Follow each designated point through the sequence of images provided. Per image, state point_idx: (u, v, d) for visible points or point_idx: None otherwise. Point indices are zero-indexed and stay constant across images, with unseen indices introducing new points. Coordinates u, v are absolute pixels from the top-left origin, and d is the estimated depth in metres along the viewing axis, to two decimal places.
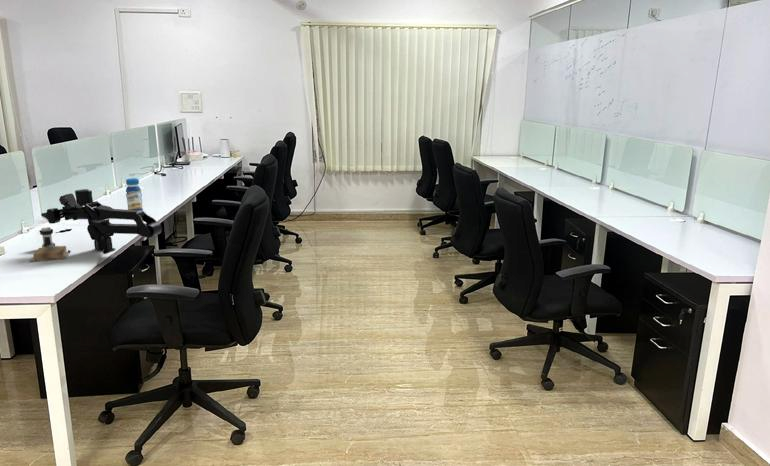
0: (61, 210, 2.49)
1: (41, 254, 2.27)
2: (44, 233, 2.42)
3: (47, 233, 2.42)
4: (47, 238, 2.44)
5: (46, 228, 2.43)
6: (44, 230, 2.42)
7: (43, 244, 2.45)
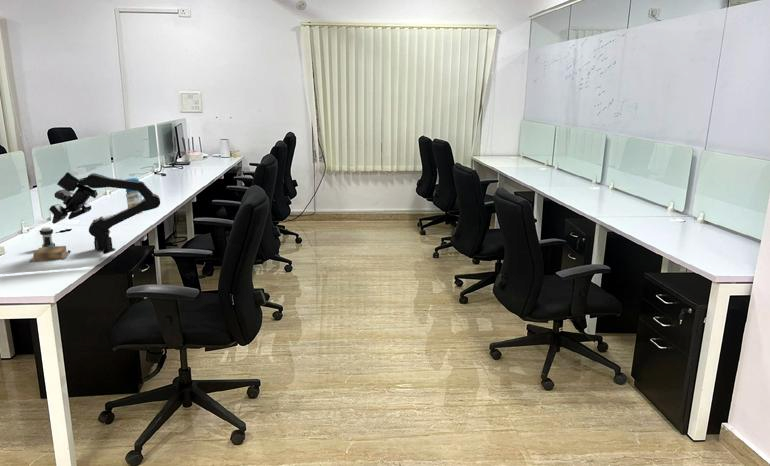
0: (71, 215, 2.45)
1: (41, 254, 2.27)
2: (44, 233, 2.42)
3: (47, 233, 2.42)
4: (47, 238, 2.44)
5: (46, 228, 2.43)
6: (44, 230, 2.42)
7: (43, 244, 2.45)
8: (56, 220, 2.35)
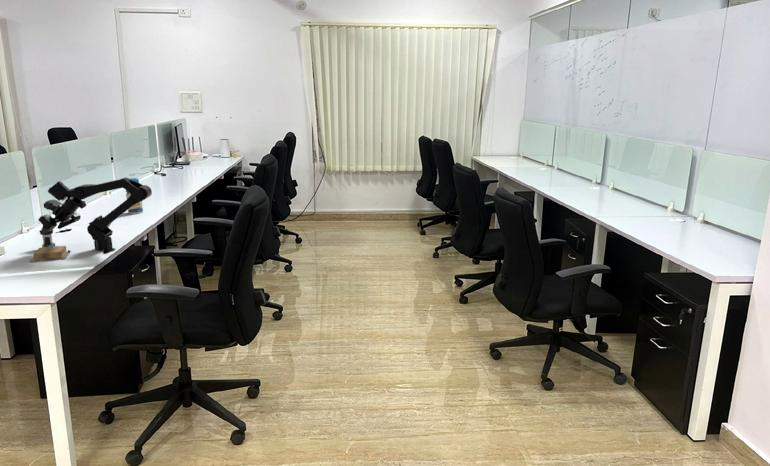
0: (60, 224, 2.47)
1: (41, 254, 2.27)
2: (44, 233, 2.42)
3: (47, 233, 2.42)
4: (47, 238, 2.44)
5: None
6: None
7: (43, 244, 2.45)
8: (45, 230, 2.37)
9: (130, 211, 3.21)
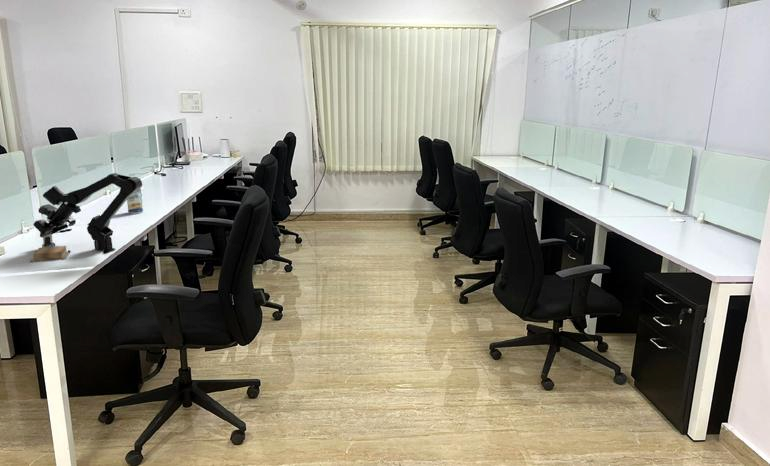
0: None
1: (41, 254, 2.27)
2: None
3: None
4: (47, 238, 2.44)
5: None
6: None
7: None
8: (43, 234, 2.40)
9: (130, 211, 3.21)
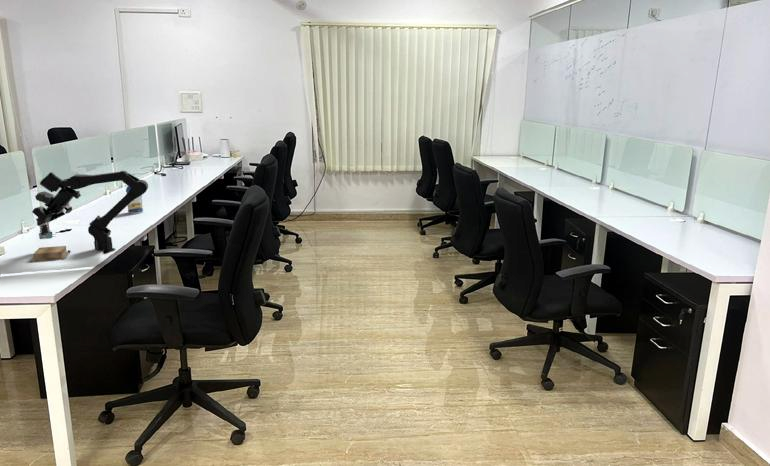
0: None
1: (41, 254, 2.27)
2: None
3: None
4: (44, 226, 2.38)
5: None
6: None
7: (40, 232, 2.39)
8: (42, 222, 2.34)
9: (130, 211, 3.21)
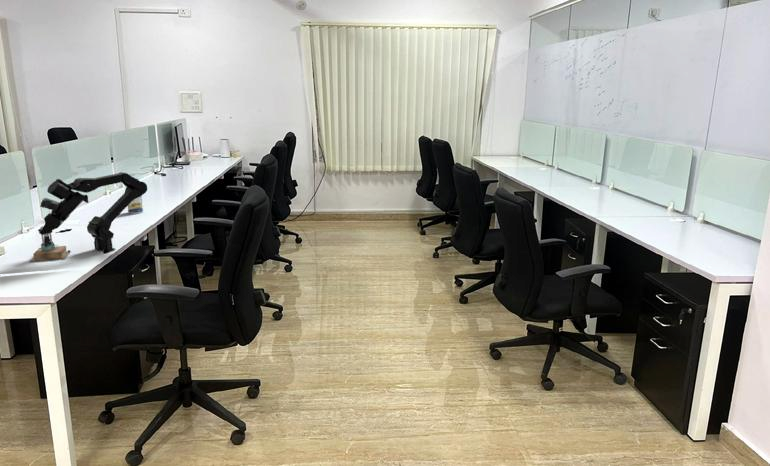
0: None
1: (41, 254, 2.27)
2: (47, 232, 2.28)
3: None
4: (48, 237, 2.30)
5: None
6: None
7: (42, 244, 2.30)
8: (47, 230, 2.25)
9: (130, 211, 3.21)
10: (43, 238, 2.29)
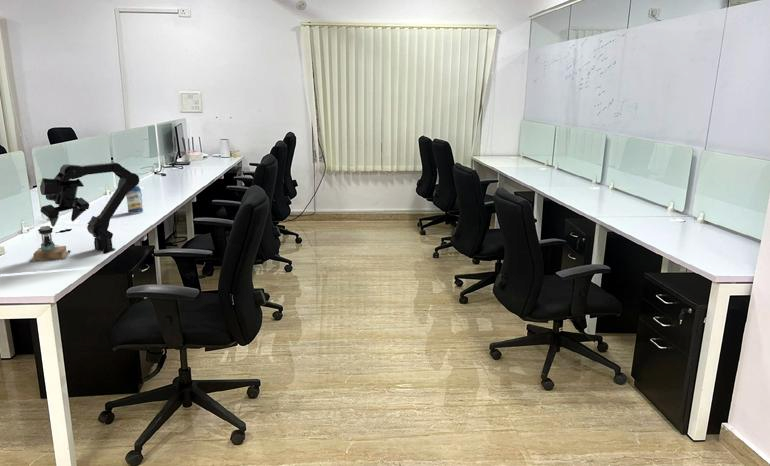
0: (72, 216, 2.41)
1: (41, 254, 2.27)
2: (47, 232, 2.28)
3: (49, 231, 2.29)
4: (48, 237, 2.30)
5: (46, 227, 2.29)
6: (46, 229, 2.28)
7: (42, 244, 2.30)
8: (52, 221, 2.31)
9: (130, 211, 3.21)
10: (43, 238, 2.29)
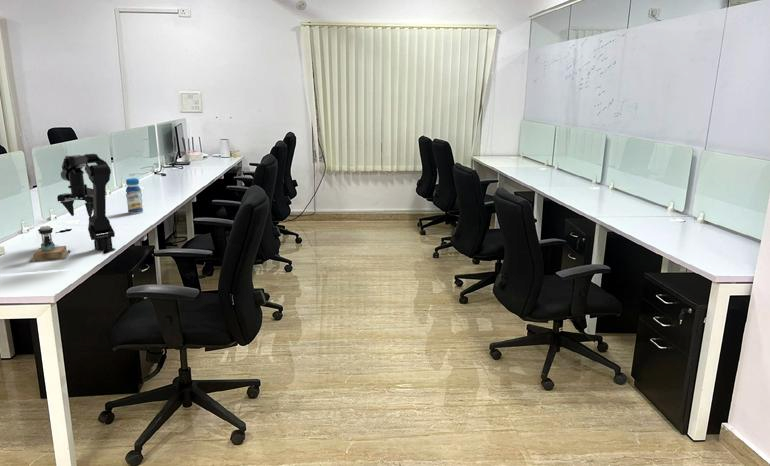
0: None
1: (41, 254, 2.27)
2: (47, 232, 2.28)
3: (49, 231, 2.29)
4: (48, 237, 2.30)
5: (46, 227, 2.29)
6: (46, 229, 2.28)
7: (42, 244, 2.30)
8: None
9: (130, 211, 3.21)
10: (43, 238, 2.29)
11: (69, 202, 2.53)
